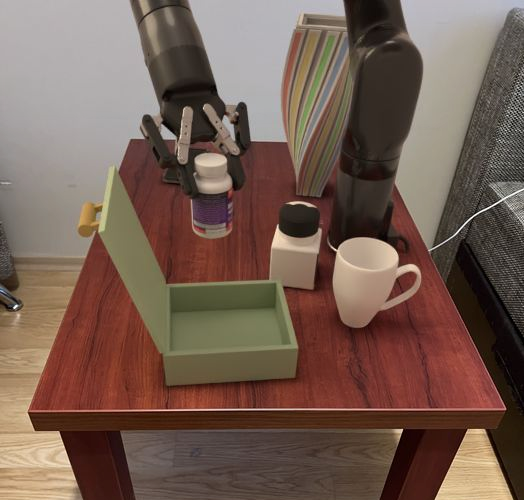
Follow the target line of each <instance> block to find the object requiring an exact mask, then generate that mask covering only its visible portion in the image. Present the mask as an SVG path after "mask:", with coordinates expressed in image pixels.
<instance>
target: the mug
mask: <svg viewBox="0 0 524 500" xmlns="http://www.w3.org/2000/svg"><path fill="white" fill-rule="evenodd" d="M399 261H400V258H399V254H398V252H397V250H396V249H394V248H393V247H392V246H390V245H389V244H387V243H385V242H383V241H380V240H377V239H373V238H364V237H361V238H353V239H349V240H347V241H345V242H343V243H342V244H341V245H340V246H339V248H338V250H337V254H335V261H334V268H333V275H332V291H333V295H334V300H335V303H336V307H337V311H338V314H339V318H340V321H341V322H342V323H343V324H344V325H346V326H347V327H350V328H354V329H361V328H364V327H366V326H368V324H369V323H370V322H371V321H372V320H373V318H374V317H375V316H376V315H377V313H378V312H380V311H386V310H388V309H390V308H393V307H395V306H397V305H399V304H401V303H403V302H405V301H407V300H408V299H410V298H411V297H413V296H414V295H415V294H416V293H417V292H418V290H419V288H420V286H421V283H422V273H421V270H420V268H419V267H418V266H417V265H415V264H413V263H408V264H405V265H401V266H399ZM409 272H413V273H414V274H415V275H416V279H415V282H414V284H413V285H412V286H411V287H410V288H409V289H408V290H406V291H405V292H404V293H402V294H400V295H398V296H396V297H394V298H391V299H390V300H388V298H389V297H390V295H391V292H392V290H393V288H394V285H395V282H396V280H397V278H399V277H401V276H402V275H404V274H406V273H409Z"/></svg>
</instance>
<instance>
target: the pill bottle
mask: <svg viewBox="0 0 524 500" xmlns="http://www.w3.org/2000/svg"><path fill="white" fill-rule="evenodd" d="M194 169H195V173H194V178H195V181H196V184H197V188H198V191H199V195H198V197H197V198H196V199H192V200H190V211H191V227H192V231H193V233H195V234H196V235H197V236H199V237H200V238H204V239H211V240H213V239H221V238H223V237H226V236H228V235H229V234H231V232H232V230H233V224H234V223H233V221H234V220H233V214H234V213H233V212H234V211H233V209H234V208H233V207H234V206H233V205H234V204H233V202H234V201H233V199H234V198H233V197H234V196H233V195H234V193H233V192H234V190H233V183H232V178H231V176H230V175H229V174H228V171H227V159H226V157H225V156H223V155H222V154H221V153H217V152H215V153H214V152H211V153H204V154H200V155H198V156H196V157H195V160H194Z"/></svg>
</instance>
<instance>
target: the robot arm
mask: <svg viewBox="0 0 524 500" xmlns="http://www.w3.org/2000/svg"><path fill="white" fill-rule="evenodd" d="M128 1H129V4H130V8H131V11H132V15H133V18H134V22H135V25H136V28H137V32H138V35H139V40H140V47H141V51H142V54H143V58H144V59H143V60H144V63H145V66H146V68H147V71H148V75H149V77H150V81H151V84H152V87H153V90H154V93H155V97H156V100H157V103H158V106H159V113H157V114H154V115H151V114H148V113H147V114H146V113H145V114H144V115H143V116H142V117H141V122H140V125H139V131H140V132H141V134H142V136H143V138H144V140H145V142H146V144H147V146H148V148H149V151H150V152H151V153H152V155H153V157H154V159H155V162H156V163H157V165H158V167H159V168H160V169H161V170H165V169H166V168H170V169H173V170H175V171H176V172H177V175H178V178H179V181H180V187H181V191H182V193H183V194H184V196H185V197H187V196H188V198H189V200H190V201H191V200H192V199H196V198H197V197H198V195H199V191H198V188H197V184H196V181H195V178H194V174H193V171H192V168H191V165H190V164H188V163H187V161H188V151H189V148H190V146H192V145H195V144H197V143H210V144H211V145H212V147H213V148H214V149H215V150H217V151H218V152H219V154H221V155H223V156H225V157H226V159H227V173H228V174H229V175H230V176H231V178H232V183H233V192H237V191H241V190H242V188H243V187H244V186H245V185H244V184H245V182H246V180H247V179H246V178H247V177H246V174H245V171H244V166H243V163H242V160H241V157H243V156H245V154H246V153H247V151H248V150H249V149H250V148H251V146H252V139H251V130H250V122H249V114H248V113H249V111H248V105H247V103H246V102H244V101H239V102H238V103H237V105H236V104H226V103H225V101H223V99H222V98H221V97H220V95H219V92H218V87H217V83H216V79H215V77H214V73H213V70H212V66H211V63H210V59H209V56H208V53H207V50H206V46H205V42H204V41H203V37H202V34H201V30H200V29H199V26H198V24H197V22H196V20H195V17H194V14H193V11H192V8H191V4H190V1H189V0H128ZM342 3H343V9H344V16H345V18H346V26H347V36H348V47H349V63H350V73H351V76H352V79H353V82H354V84H353V92H352V98H351V105H350V111H349V118H348V122H347V126H346V127H345V128H344V131H343V136H342V143H341V150H340V155H339V158H338V164H337V171H336V179H335V185H334V186H335V187H334V193H333V200H332V208H331V215H330V221H329V226H328V230H327V234H326V235H327V236H326V237H327V239H326V244H327V247H328V249H329V251H331V252H332V253H333V254H335V255H336V254H337V250H338V248H339V246H340V245H341V244H342V243H343V242H345V241H347V240H349V239H353V238H361V237H364V238H373V239H377V240H380V241H383V242H385V243H387V244H389V245H390V246H392V247H393V248H394V249H395V250H396V249H397V247H398V244H399V241H401V242H402V243H403V244H404V247H405V251H406V252H409V251H410V250H411V246H410V242H409V240H408V239H407V238H406V237H404V236H403V235H402V234H399V233H398V231H397V230H396V228H395V227H394V225H393V223H392V218H393V214H394V210H395V201H394V199H393V197H392V196H393V192H394V187H395V183H396V178H397V174H398V168H399V164H400V161H401V155H402V152H403V147H404V144H405V142H406V141H407V139H408V137H409V135H410V133H411V129H412V125H413V121H414V117H415V114H416V109H417V107H418V102H419V99H420V93H421V89H422V85H423V80H424V79H423V78H424V69H425V68H424V59H423V56H422V53H421V52H420V50H419V48H418V46H417V45H416V43H414V41H413V40H412V38H411V36H410V33H409V31H408V28H407V24H406V20H405V16H404V11H403V6H402V0H342ZM224 117H226V118H228V121H229V124H231V125H233V134H234V140H233V138H232V137H231V132H230V130H229V128H228V127H227V126H226V125H225V123H223V121H224ZM162 126H164V128H166V129H167V130H168V131H169V132H170V133H171V134H172V135H174V137H175V142H174V143H175V144H174V151H175V155H173V153H171V151H170V149H169V147H168V145H167V144H166V142H165V140H164V137H163V136H162V133H161V132H162V129H163V127H162Z"/></svg>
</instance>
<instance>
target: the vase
mask: <svg viewBox="0 0 524 500" xmlns="http://www.w3.org/2000/svg"><path fill="white" fill-rule="evenodd" d="M289 42H290V43H289V46H288V50H287V54H286V58H285V63H284V68H283V71H282V72H283V73H282V78H281V84H280V86H281V87H280V110H281V111H280V112H281V119H282V124H283V130H284V131H283V132H284V136H285V140H286V144H287V147H288V151H289V154H290V158H291V161H292V162H291V163H292V166H293V170H294V173H295V181H296V190H295V191H296V192H295V196H304V197H317V198H322V194H323V191H324V189H325V187H326V186H327V183H328V181H329V179H330V177H331V175H332V173H333V171H334V169H335V166H336V165H337V163H338V161H339V157H340V150H341V143H342V136H343V131H344V128H345V127H346V126H347V122H348V118H349V111H350V105H351V98H352V92H353V84H354V82H353V79H352V76H351V73H350V63H349V47H348V36H347V26H346V18H345V15H342V14H340V15H339V14H324V13H311V12H301V13H300V14H299V15H298V17H297V19H296V22H295V25H294V27H293V31H292V34H291V38H290V41H289Z"/></svg>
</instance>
